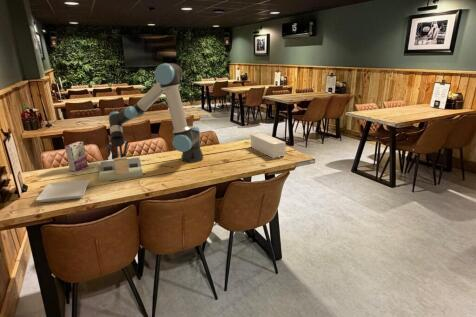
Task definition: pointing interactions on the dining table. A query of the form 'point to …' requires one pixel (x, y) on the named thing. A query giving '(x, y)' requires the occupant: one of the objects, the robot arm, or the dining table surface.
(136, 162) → the block
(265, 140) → the white rectangular block
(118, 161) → the maple block
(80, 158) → the candy bar box
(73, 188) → the salad plate
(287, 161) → the dining table surface
